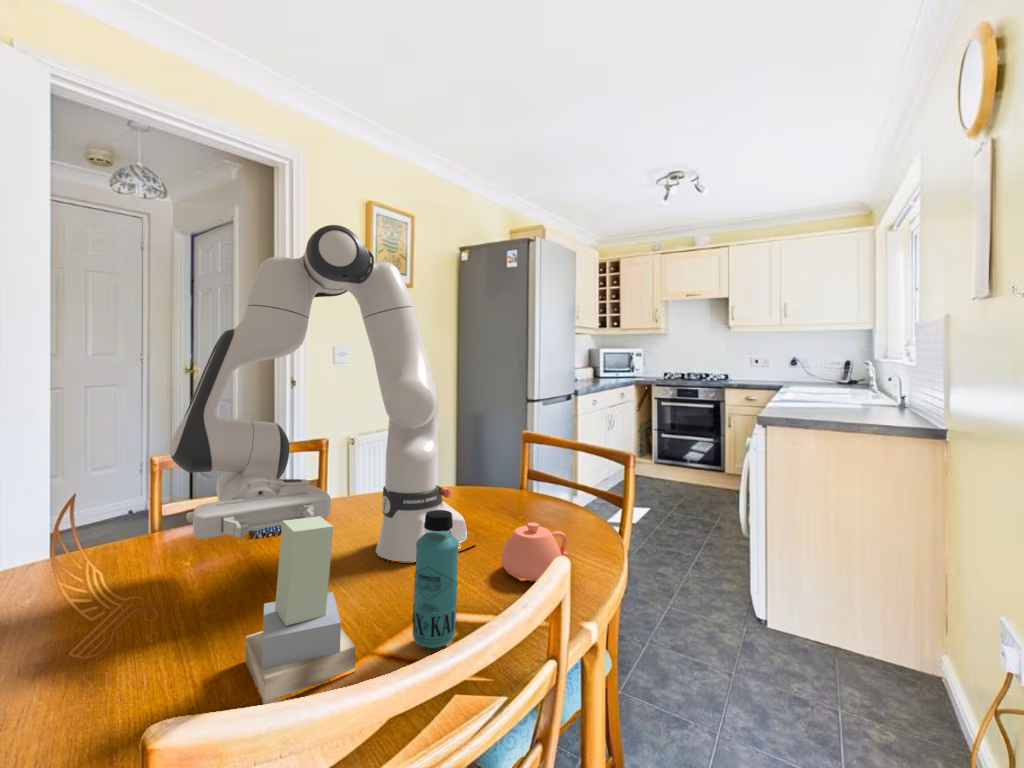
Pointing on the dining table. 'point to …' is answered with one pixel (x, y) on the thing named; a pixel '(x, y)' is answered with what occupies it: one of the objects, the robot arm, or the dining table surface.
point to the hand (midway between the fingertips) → (277, 525)
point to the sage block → (303, 569)
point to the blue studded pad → (267, 532)
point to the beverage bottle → (435, 582)
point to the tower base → (295, 668)
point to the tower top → (300, 636)
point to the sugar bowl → (531, 551)
